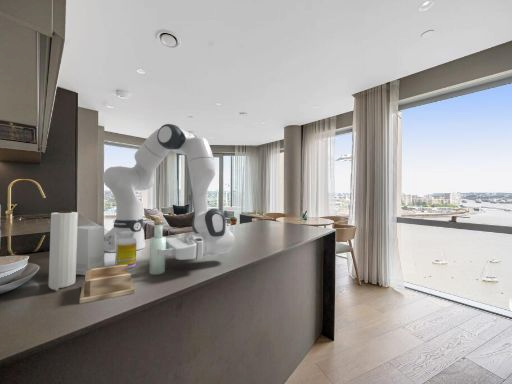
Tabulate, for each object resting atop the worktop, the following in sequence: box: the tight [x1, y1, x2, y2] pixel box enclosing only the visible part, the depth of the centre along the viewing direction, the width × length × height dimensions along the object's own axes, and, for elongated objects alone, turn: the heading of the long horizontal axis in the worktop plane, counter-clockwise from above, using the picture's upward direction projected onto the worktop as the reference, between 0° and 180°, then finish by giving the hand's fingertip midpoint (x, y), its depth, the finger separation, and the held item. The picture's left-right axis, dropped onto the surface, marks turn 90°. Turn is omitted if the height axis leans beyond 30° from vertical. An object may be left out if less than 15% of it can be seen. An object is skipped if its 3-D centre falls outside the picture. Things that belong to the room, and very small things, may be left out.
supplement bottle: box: [114, 231, 137, 270], centre depth 85 cm, size 7×7×13 cm
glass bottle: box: [148, 219, 167, 276], centre depth 80 cm, size 5×5×18 cm
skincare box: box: [76, 224, 105, 276], centre depth 78 cm, size 8×7×16 cm
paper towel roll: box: [48, 211, 79, 291], centre depth 67 cm, size 7×6×21 cm
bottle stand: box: [79, 264, 135, 304], centre depth 65 cm, size 12×12×5 cm
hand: (155, 249), depth 80 cm, fingers open, 8 cm apart
